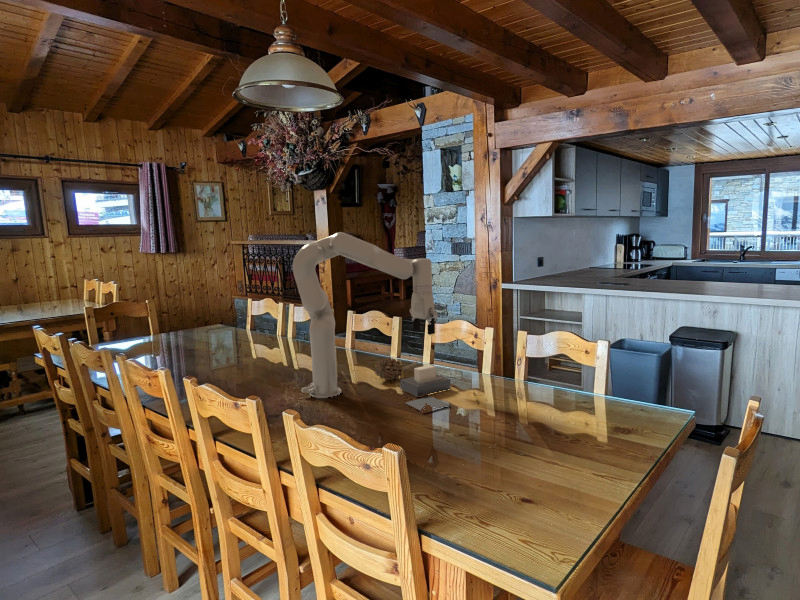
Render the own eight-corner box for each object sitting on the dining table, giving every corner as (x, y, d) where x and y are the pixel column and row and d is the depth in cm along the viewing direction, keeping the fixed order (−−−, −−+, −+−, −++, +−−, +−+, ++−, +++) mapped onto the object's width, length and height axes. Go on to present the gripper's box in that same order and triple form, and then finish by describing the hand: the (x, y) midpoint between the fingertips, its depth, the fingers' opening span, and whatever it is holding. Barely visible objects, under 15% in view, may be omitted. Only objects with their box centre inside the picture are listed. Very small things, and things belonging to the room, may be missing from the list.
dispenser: (417, 398, 191) (417, 385, 191) (400, 390, 201) (400, 378, 201) (450, 390, 200) (450, 377, 199) (432, 383, 210) (432, 371, 209)
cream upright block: (419, 393, 197) (419, 370, 196) (414, 391, 200) (414, 368, 199) (436, 389, 201) (435, 366, 200) (430, 387, 204) (430, 364, 203)
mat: (423, 414, 174) (423, 412, 174) (404, 404, 184) (404, 402, 184) (450, 406, 181) (450, 404, 181) (430, 398, 191) (430, 396, 191)
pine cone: (383, 386, 208) (382, 362, 206) (370, 381, 215) (369, 358, 214) (423, 375, 221) (422, 353, 220) (409, 371, 229) (408, 350, 227)
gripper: (402, 289, 203) (403, 330, 205) (428, 292, 188) (429, 337, 191) (417, 287, 207) (418, 328, 209) (443, 290, 193) (444, 334, 195)
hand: (423, 332), depth 200 cm, fingers open, 9 cm apart
